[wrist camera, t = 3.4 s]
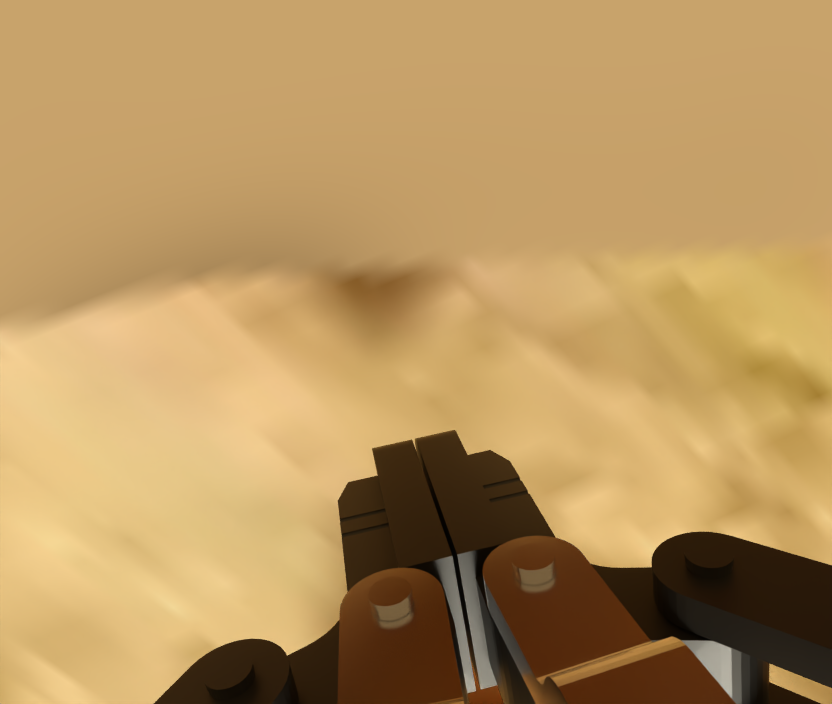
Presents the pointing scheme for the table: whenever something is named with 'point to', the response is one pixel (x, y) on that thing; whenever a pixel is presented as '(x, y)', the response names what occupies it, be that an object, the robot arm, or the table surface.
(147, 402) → the table surface
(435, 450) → the robot arm
